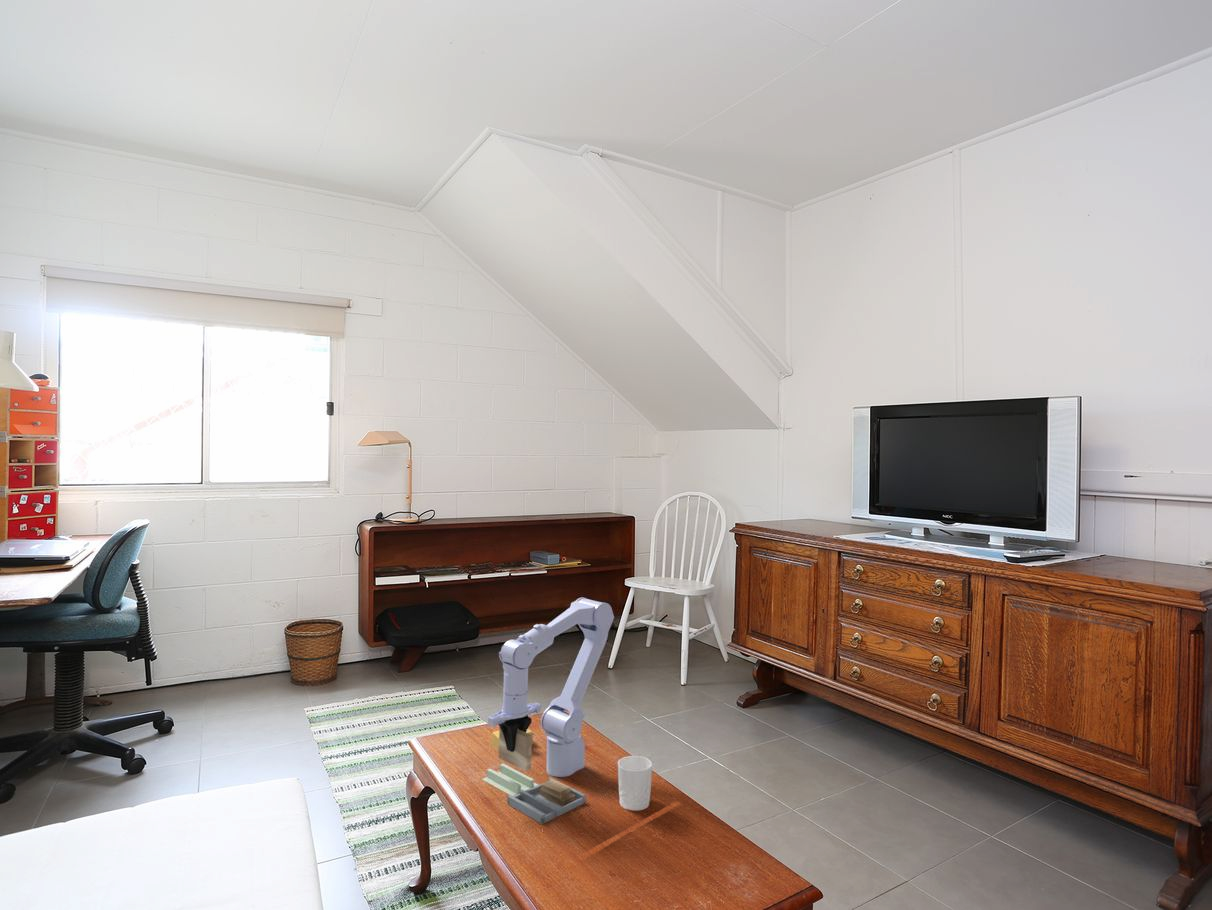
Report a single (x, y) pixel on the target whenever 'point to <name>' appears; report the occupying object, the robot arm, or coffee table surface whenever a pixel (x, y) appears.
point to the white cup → (634, 782)
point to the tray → (542, 804)
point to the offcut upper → (555, 788)
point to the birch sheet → (517, 750)
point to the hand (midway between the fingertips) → (514, 749)
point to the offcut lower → (559, 801)
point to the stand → (509, 780)
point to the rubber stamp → (496, 738)
